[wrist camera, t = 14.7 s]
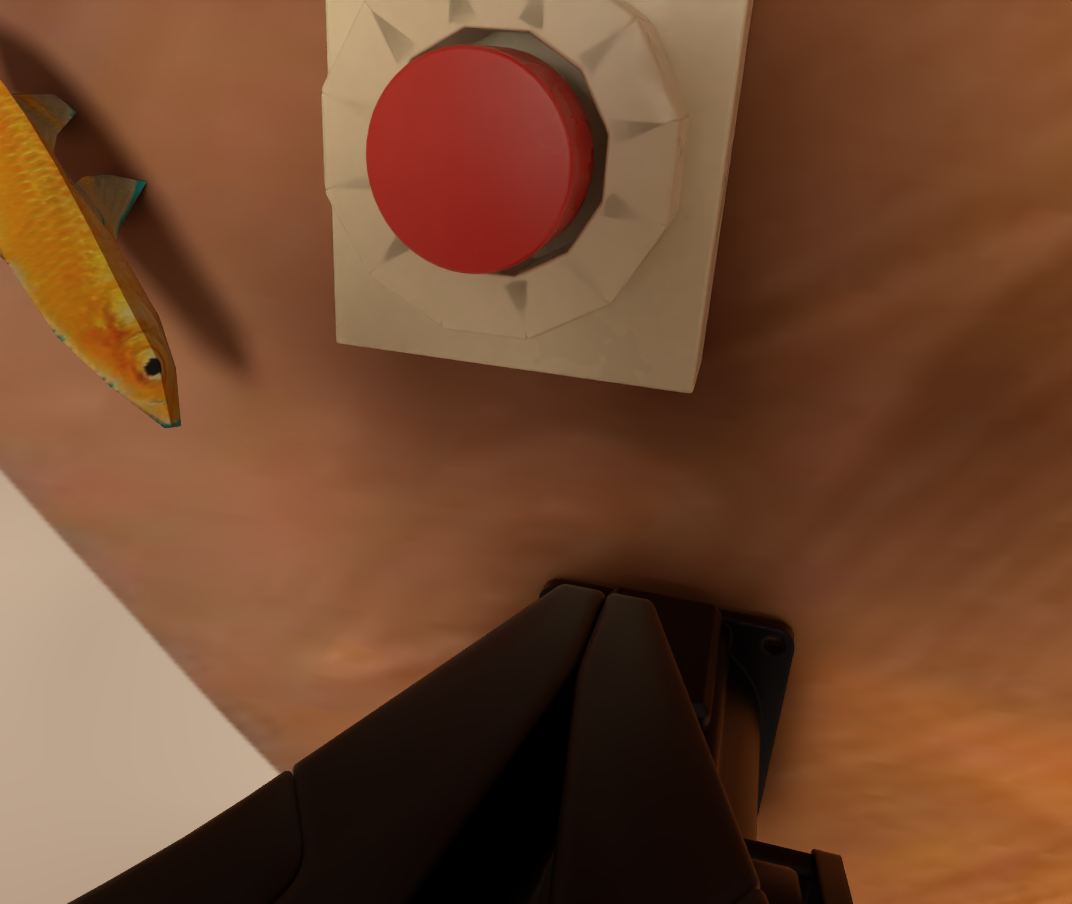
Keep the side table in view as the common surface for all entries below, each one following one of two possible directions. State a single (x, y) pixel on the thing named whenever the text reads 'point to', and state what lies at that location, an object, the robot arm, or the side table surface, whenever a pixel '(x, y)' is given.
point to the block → (607, 212)
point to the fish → (79, 257)
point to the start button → (478, 156)
